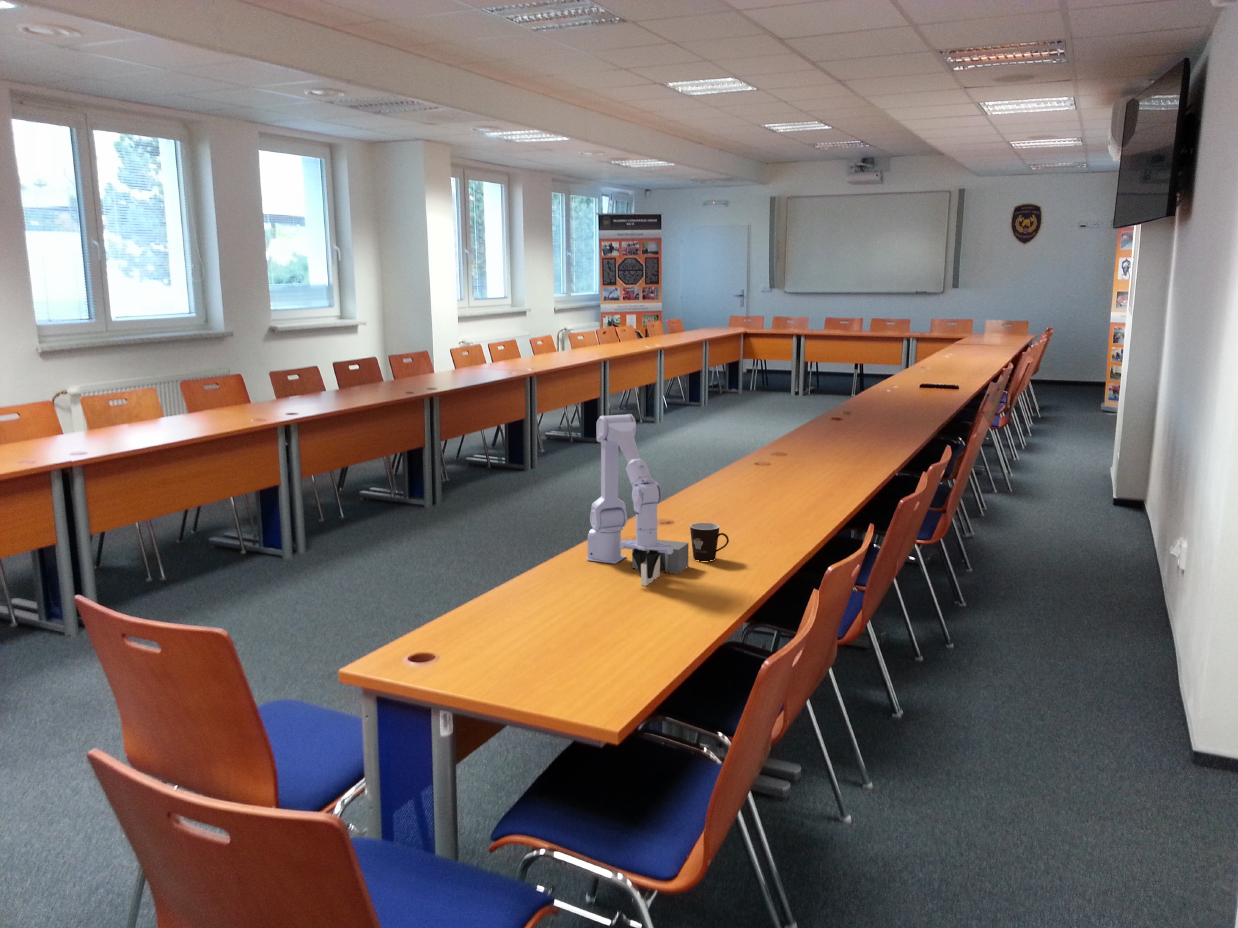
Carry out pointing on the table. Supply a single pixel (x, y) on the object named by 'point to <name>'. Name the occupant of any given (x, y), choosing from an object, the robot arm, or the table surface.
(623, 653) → the table surface
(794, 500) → the table surface
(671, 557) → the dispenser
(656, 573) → the white flat block
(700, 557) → the coffee mug
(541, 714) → the table surface
